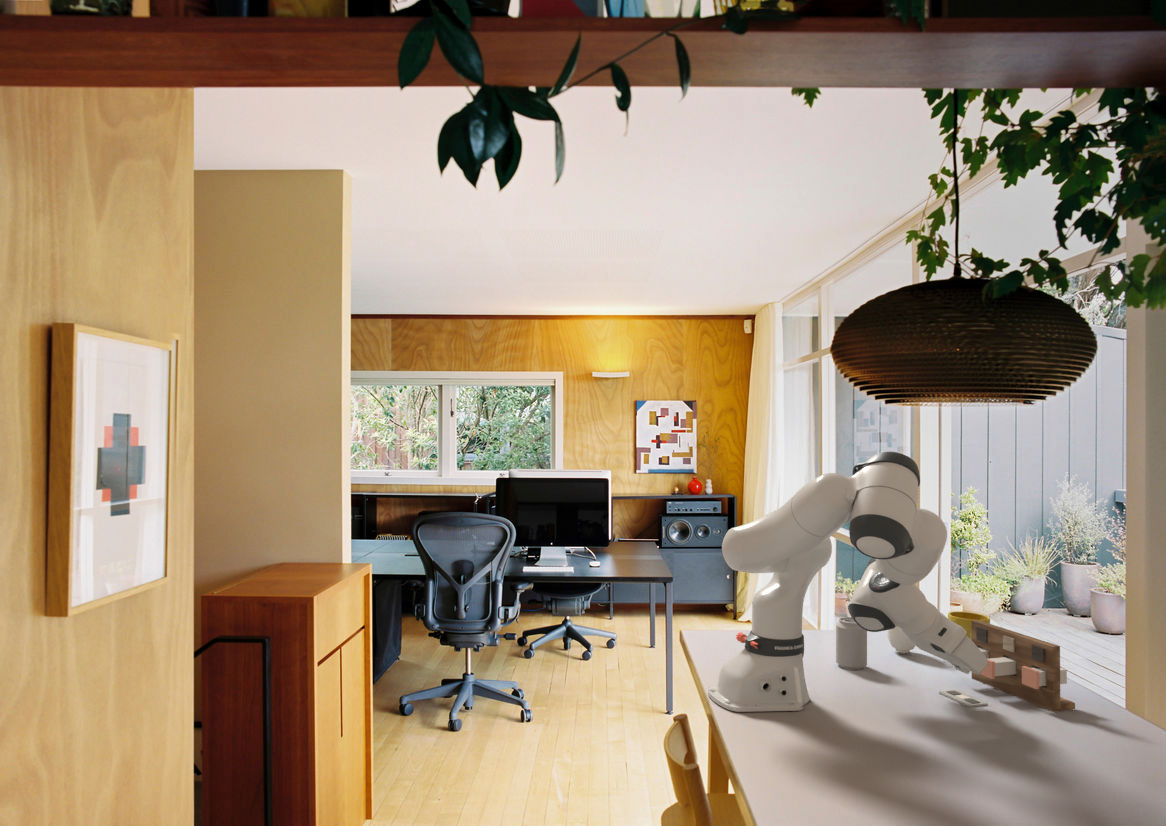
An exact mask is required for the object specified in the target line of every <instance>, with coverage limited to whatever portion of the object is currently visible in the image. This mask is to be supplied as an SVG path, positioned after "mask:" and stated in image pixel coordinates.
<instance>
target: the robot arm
mask: <svg viewBox="0 0 1166 826" xmlns="http://www.w3.org/2000/svg"><path fill="white" fill-rule="evenodd" d="M920 483H921V476H920V470H919V466H918V464H917V462H915V460H914V459H913V458H911V457H910V456H908V455H905V454H903V453H900V452H897V451H883V452H880V453H877V454H874V455H871V456H870V457H868V458H867V459H866V460H865V461H863V462H859V463H856V464H855V465H854V466H853V468H852V475H851V476H846V475H843V474H839V473H835V472H827V473H824V474H822V475H819V476H816V477H815V478H813V479H812V480H810V481H808V482H807V483H806V484H805V485H804V486H802V487H801V488H799V490H797V492H795V494H793V496H791V498H789V499H788V500H787V502H785V503H784V504H783V505H782V506H781V507H779V508H777V509H776V510H773V511H771V512H769V513H767V514H765V515H762V516H760V517H759V518H757V519H754V520H751V521H750V522H747V523H744V524H741V525H739V526H735V527H731V528H730V529H728V530H727V532H726V534H725V535H724V537H723V540H722V543H721V552H722V556H723V559H724V561H725V563H726V564H727V566H728V567H729V568H730V569H731V570H733V571H737V572H741V573H748V574H770V573H772V577H771V578H770V580H769V582H768V583H767V585H765V586H764V587H762V588H761V589H759V590H758V591H757V592H756V593H755V594H754V596H753V597H752V601H751V630H750V632H749V633H748V635H746V634H745V633H743V632H740V631H739V632H737V634H736V636H735V638H736V639H735V640H737V641H738V642H740V643H741V644H745V645H744V648H743V649H742V650H740V652H738V653H737V654H736V655H735V656H734V657H733V658H731V659H730V660H728V661H727V662H726V663H724V664H723V665H722V666H721V668H720V671H719V675H718V681H717V685H713V686H710V687H708V690H707V695H708V697H709V698H710V699H711V700H712V701H713V702H714V703H715V704H717V705H719V706H720V707H722V708H724V709H726V710H728V711H732V712H737V713H741V712H742V713H745V712H749V713H750V712H751V713H752V712H788V711H789V712H790V711H791V712H793V711H794V712H795V711H796V712H797V711H802V710H803V709H804V706H805V705H806V704H807V703H809V701H810V695H809V691H808V687H807V683H806V677H805V672H804V671H805V670H804V669H805V668H804V655H805V636H804V634H803V612H804V611H803V610H804V601H805V597H806V595H807V594H806V593H807V591H808V588H809V586H810V584H811V582H812V581H813V579H814V577H815V576H816V575H817V574H818V573H819V571H820V570H821V569H822V568H824V567H825V566H826V565H827V564H828V562H829V561H830V559H831V556H832V552H833V545H832V541H831V536H833V535H834V534H836V532H838V531H839V530H840V529H842V527H843V526H844V525H845V524H847V523H849V527H848V529H849V532H848V533H849V540H850V543H851V545H852V546H853V547H854V548H855V549H856V550H857V551H858V552H859V553H861V554H862V555H864V556H866V557H869V558H870V559H869V560H868V562H867V564H866V567H865V569H864V573H863V574H862V577H861V579H860V580H859V582H858V584H857V586H856V589H855V590H854V592H853V593H852V597H851V598H850V600H849V603H848V605H847V610H848V613H849V616H850V617H852V618H853V620H854V621H855V622H856V623H857V624H858V625H859V626H860V627H862V628H863V629H865V630H867V632H870V633H877V632H878V633H879V632H884V631H887V630H890V629H894V628H895V627H900V628H901V629H902V631H903V632H904V633H905V634H906V635H907V636H908V637H909V639H910V640H911V641H912V642H913V643H914V644H915V645H916V646H915V647H916V648H918V649H919V650H921V651H923V652H926V653H927V654H929V655H933V656H935V657H937V658H939V659H942V660H944V661H946V662H947V663H949V664H950V665H952V666H953V667H954V668H955V669H956V670H958V671H959V672H961V673H964V674H966V675H969V673H972V672H973V673H975V674H980V673H981V672H982V671H983V670H984V668H985V667H986V666H987V664H988V661H987V658H986V657H985V656H984V654H983V653H982V652H981V651H980V649H979V648H978V647H977V646H976V645H975V643H974V642H973V641H972V640H971V639H969V638H968V637H967V636H965V635H966V634H967V632H966V631H965V629H964V628H963V627H961V626H959V625H958V624H956V623H954V622H953V621H951V620H949V619H948V616H946V615H944V614H943V612H941V611H940V610H939V609H938V608H937V607H936V606H935V605H934V604H933V603H931V602H929V601H928V599H927V598H926V596H925V594H924V593H923V591H922V590H921V589H920V588H919V587H918V586H917V583H920V582H921V581H922V580H924V579H925V578H926V577H927V576H928V575H929V574H930V573H931V572H932V570H933V569H934V568H935V566H936V565H937V563H938V562H939V560H940V558H941V556H942V554H943V552H944V549H945V546H946V543H947V539H948V531H947V527H946V524H945V523H944V521H943V520H942V518H941V517H940V516H939V515H937V514H936V513H934V512H933V511H931V510H928V509H924V508H917V506H918V498H919V487H920Z"/></svg>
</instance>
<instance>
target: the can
mask: <svg viewBox="0 0 1166 826" xmlns="http://www.w3.org/2000/svg"><path fill="white" fill-rule="evenodd" d="M835 663H836V664H837V665H838V666H839V667H840V668H842V669H845V670H851V671H859V670H863V669H864V668H865V667H867V665H868V631H867V630H865V629H863V628H862V627H860V626H859V625H858V624H857V623H856V622H855V621H854V620H853V618H852V617H851V616H849V617H848V616H846V617H843V616H842V617H840V618H838V622H837V623H836V624H835Z"/></svg>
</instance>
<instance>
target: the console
mask: <svg viewBox="0 0 1166 826" xmlns="http://www.w3.org/2000/svg"><path fill="white" fill-rule="evenodd" d="M972 641H973V642H974V643H975V645H976V646H977V647H978V648H980V647H983V648H986V649H989V659H990V658H1002V657H1011V658H1014V659H1017V674H1013V675H1003V676H995V679H991V678H988V677H986V676H983V675H981V674H975V673H973V672H971V680H975V681H977V682H979V683H982V684H984V685H987V686H990V687H991V688H993V689H996V690H999V691H1001V692H1003V693H1006V694H1008V695H1011V696H1014V697H1016V698H1018V699H1021V700H1023V701H1025V702H1027V703H1030V704H1032V705H1035V706H1037V707H1039V708H1043V709H1044V708H1045V709H1044V710H1047V709H1048V710H1047V711H1049V710H1050V712H1051V711H1052V712H1051V713H1057V711H1059V712H1065V711H1067V710H1068V711H1074V710H1073V709H1075V710H1076V702H1074V701H1071V700H1069V699H1067V698H1064V697H1061V684H1060V668H1061V646H1060V645H1058V644H1055V643H1051V642H1048V641H1045V640H1042V639H1039V638H1036V637H1032V636H1030V635H1027V634H1023V633H1020V632H1017V631H1013V630H1011V629H1007V628H1003V627H1000V626H998V625H995V624H991V623H990V624H989V623H985V622H982V621H979V620H975V621H972ZM1022 666H1026V667H1029V668H1036V667H1039V668H1042V669H1045V670H1047V686H1039V689H1034V688H1032V687H1029V686H1027V685H1024V684H1022Z"/></svg>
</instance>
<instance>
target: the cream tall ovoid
mask: <svg viewBox="0 0 1166 826" xmlns="http://www.w3.org/2000/svg"><path fill="white" fill-rule="evenodd" d="M886 633H887V635H886V636H887V638H888V641H889V643H890V645H891V647H892V648H894V649H895V651H896V652H898V653H899V652H900V653H899V654H902V653H903V654H904V655H905V653H906V654H907V653H910V652H911V651H913V650H914V649H915V647H917V646H916V645H915V644H914V643H913V642H912V641H911V640H910V639H909V637H908V636H907V635H906V634H905V633H904V632H903V631H902V629H901V628H900V627H895V628H894V629H890V630H886Z"/></svg>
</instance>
